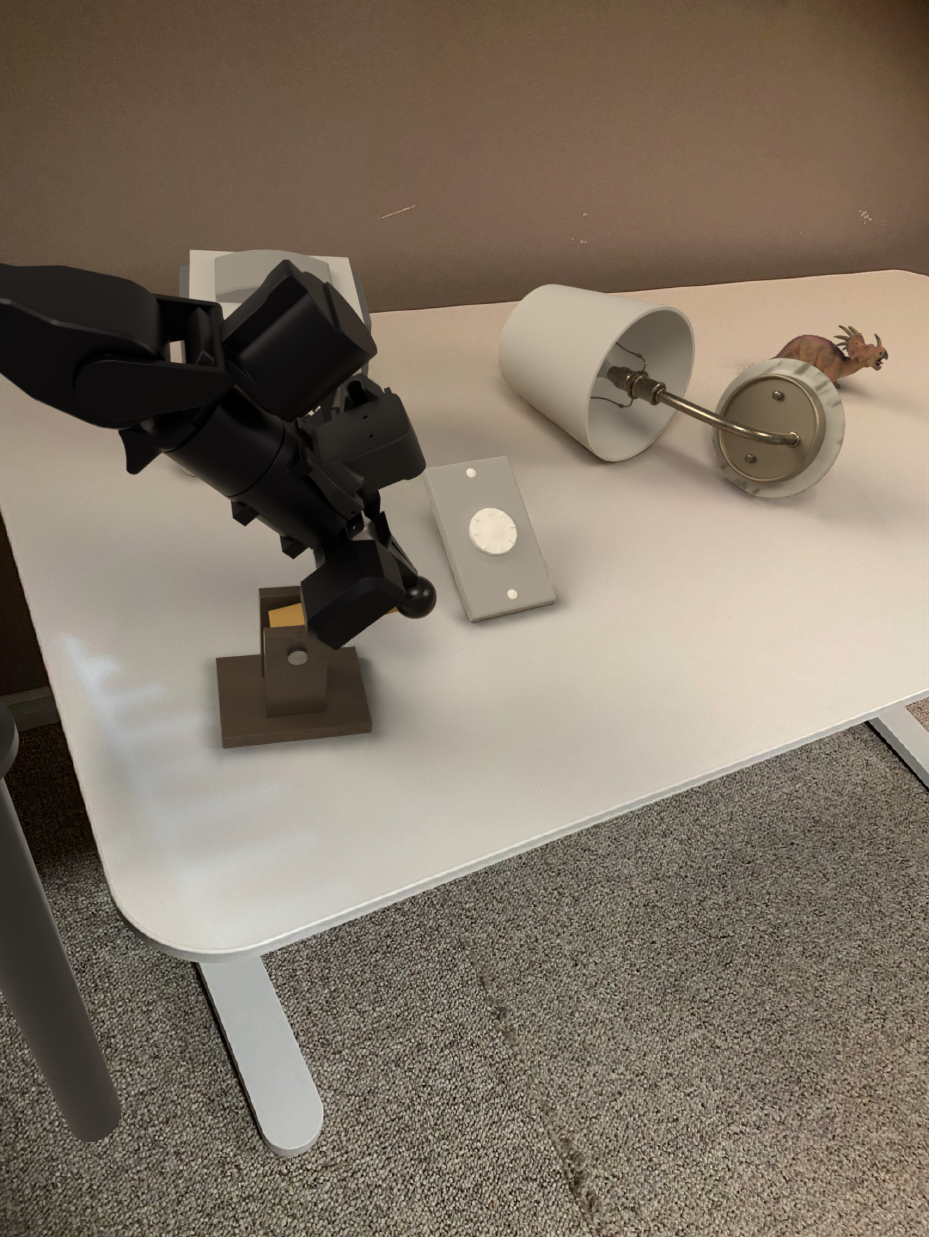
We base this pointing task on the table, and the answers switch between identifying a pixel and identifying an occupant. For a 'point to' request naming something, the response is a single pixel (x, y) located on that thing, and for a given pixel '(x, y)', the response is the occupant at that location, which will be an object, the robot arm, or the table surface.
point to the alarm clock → (245, 272)
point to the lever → (412, 606)
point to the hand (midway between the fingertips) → (413, 579)
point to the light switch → (488, 537)
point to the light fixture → (665, 388)
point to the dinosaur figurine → (836, 353)
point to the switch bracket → (289, 685)
